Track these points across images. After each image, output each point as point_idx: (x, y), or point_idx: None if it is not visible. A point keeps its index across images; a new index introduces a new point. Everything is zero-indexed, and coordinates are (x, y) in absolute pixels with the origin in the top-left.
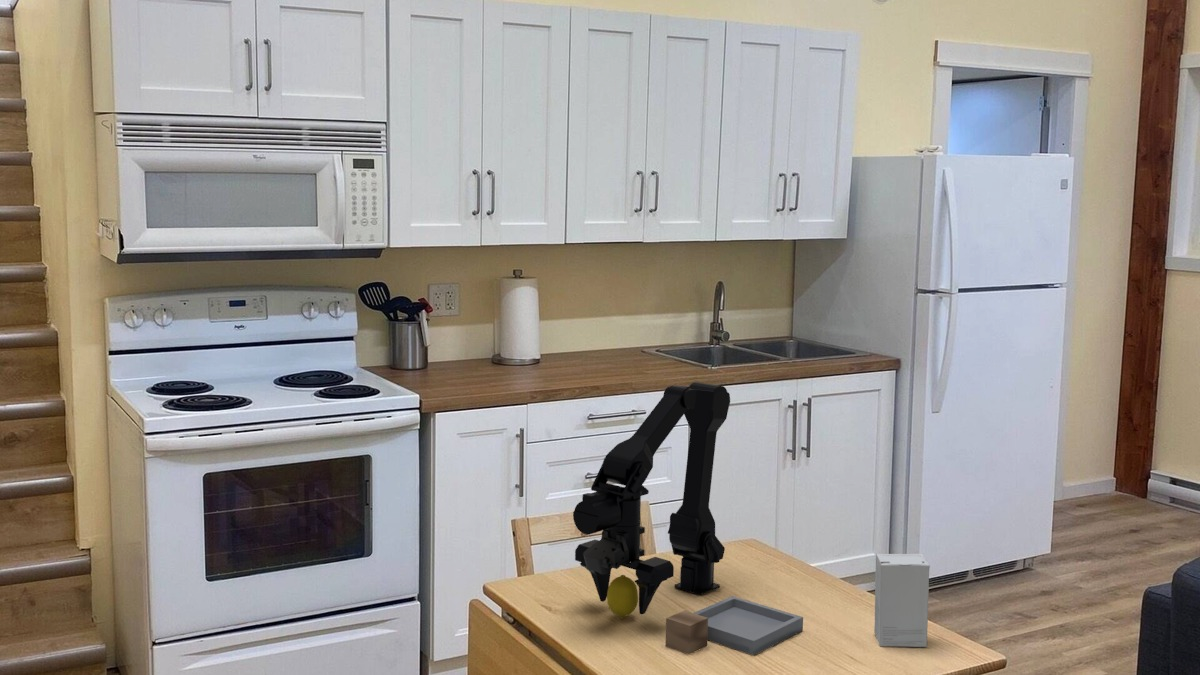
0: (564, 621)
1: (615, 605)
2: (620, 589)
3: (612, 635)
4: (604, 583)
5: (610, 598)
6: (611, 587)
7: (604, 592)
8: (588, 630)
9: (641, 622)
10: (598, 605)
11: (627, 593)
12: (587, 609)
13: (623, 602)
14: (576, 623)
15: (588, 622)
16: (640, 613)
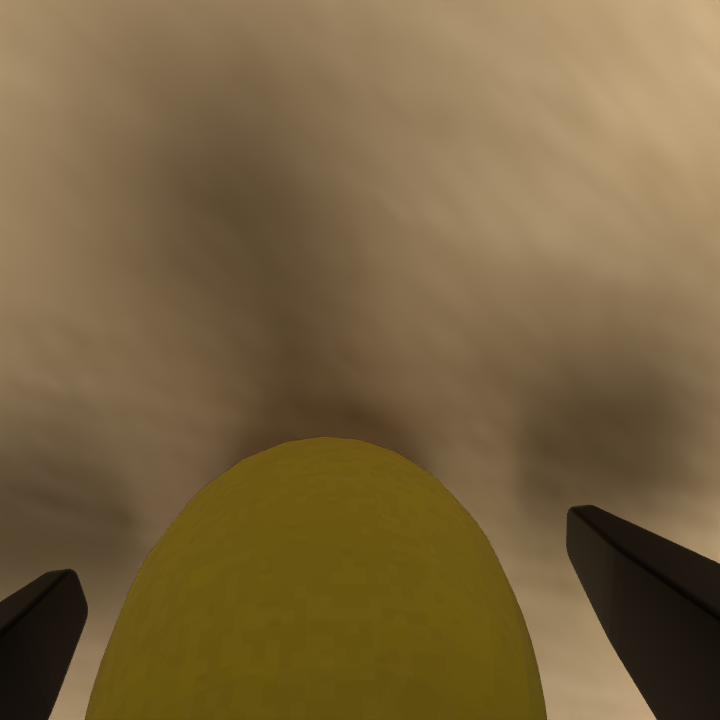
0: (629, 45)
1: (253, 463)
2: (151, 712)
3: (56, 171)
4: (711, 714)
5: (335, 489)
6: (373, 656)
7: (617, 600)
8: (297, 70)
9: None
10: (644, 524)
11: (87, 711)
12: (657, 412)
13: (157, 549)
14: (509, 107)
15: (449, 219)
16: (53, 574)
